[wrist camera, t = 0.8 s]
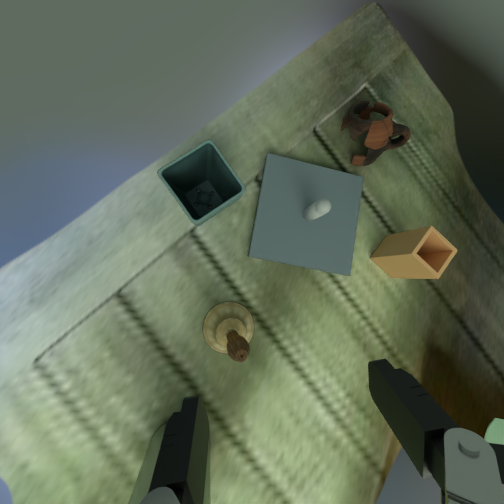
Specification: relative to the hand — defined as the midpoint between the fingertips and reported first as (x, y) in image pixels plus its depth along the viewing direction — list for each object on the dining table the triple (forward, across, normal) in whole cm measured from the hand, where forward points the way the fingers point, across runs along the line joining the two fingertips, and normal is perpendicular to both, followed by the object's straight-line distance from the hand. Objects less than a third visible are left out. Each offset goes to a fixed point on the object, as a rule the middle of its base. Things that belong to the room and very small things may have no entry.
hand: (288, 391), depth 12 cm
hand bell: (+28, -6, -13) cm, 32 cm away
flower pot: (+35, -6, +7) cm, 37 cm away
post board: (+36, +11, +1) cm, 37 cm away
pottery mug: (+42, +25, +12) cm, 50 cm away
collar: (+34, +25, -9) cm, 44 cm away
